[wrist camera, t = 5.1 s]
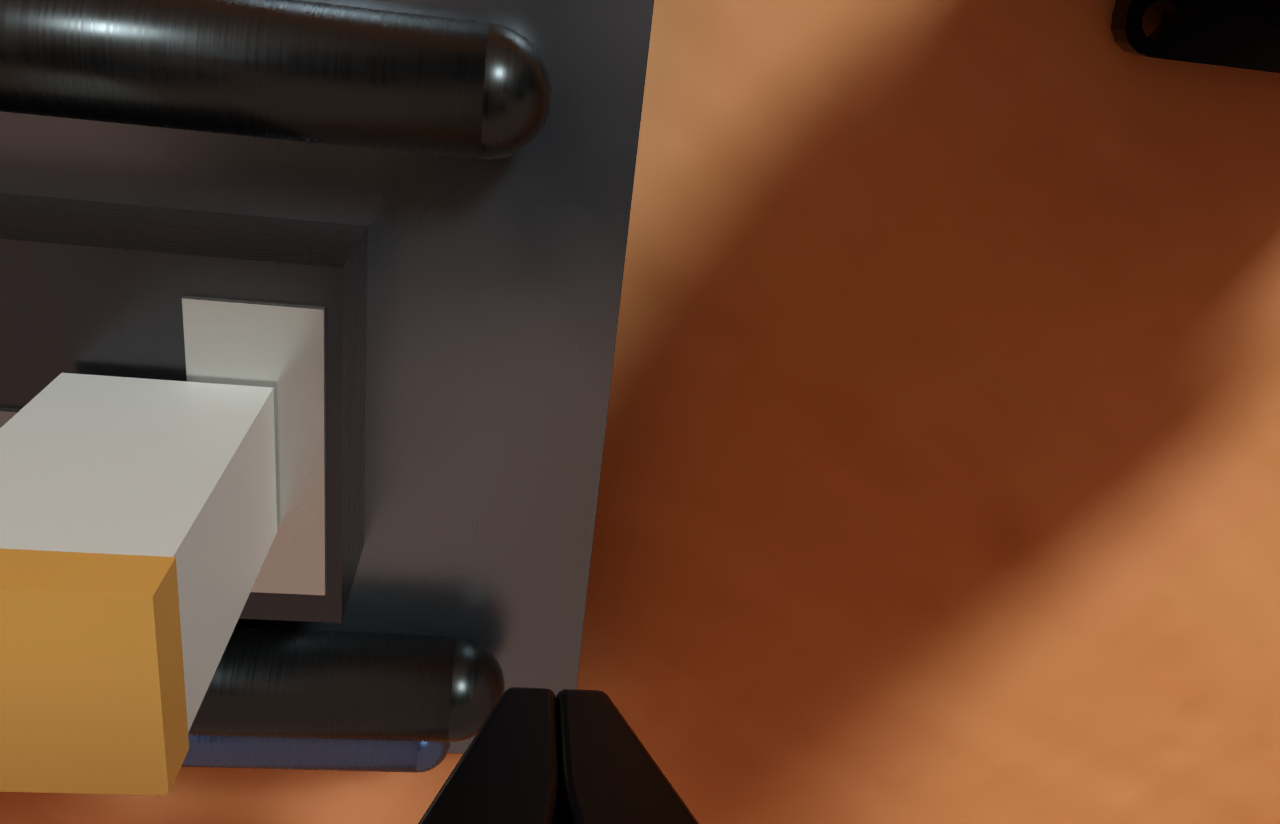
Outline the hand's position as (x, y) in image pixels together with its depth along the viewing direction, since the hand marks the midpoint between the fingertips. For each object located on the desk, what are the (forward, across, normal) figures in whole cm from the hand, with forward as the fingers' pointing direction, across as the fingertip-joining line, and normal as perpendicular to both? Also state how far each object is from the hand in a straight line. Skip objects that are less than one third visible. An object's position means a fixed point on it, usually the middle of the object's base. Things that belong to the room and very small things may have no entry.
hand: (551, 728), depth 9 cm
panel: (+8, +8, 0) cm, 12 cm away
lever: (+5, +5, 0) cm, 7 cm away
